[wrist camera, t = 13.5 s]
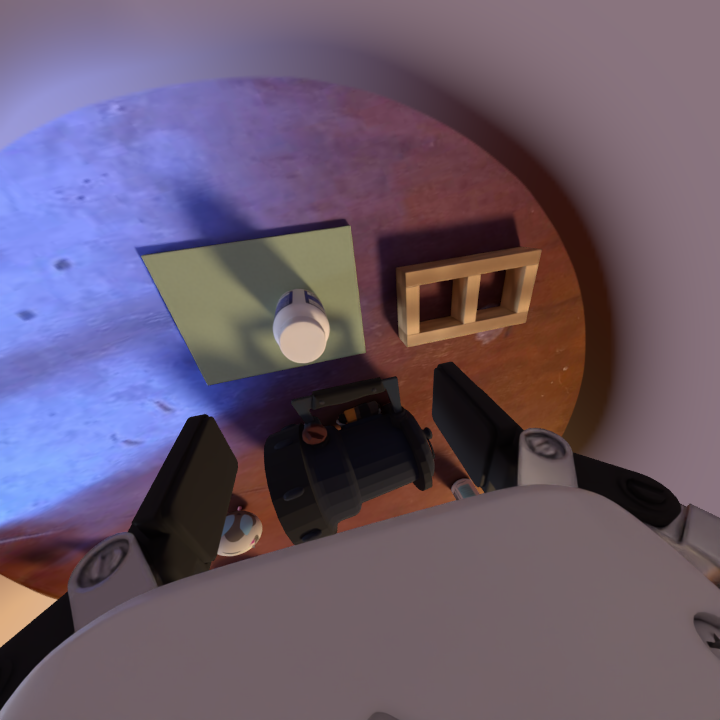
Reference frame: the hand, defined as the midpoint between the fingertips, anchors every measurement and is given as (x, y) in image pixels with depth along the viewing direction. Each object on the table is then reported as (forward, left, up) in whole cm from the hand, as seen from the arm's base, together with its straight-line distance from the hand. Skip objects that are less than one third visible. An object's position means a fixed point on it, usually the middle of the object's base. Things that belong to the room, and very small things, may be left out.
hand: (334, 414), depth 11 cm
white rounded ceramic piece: (+34, -20, -22) cm, 45 cm away
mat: (+1, -5, -21) cm, 22 cm away
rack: (+3, +18, -21) cm, 28 cm away
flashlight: (+18, +1, -22) cm, 28 cm away
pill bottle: (+2, -2, -21) cm, 21 cm away
